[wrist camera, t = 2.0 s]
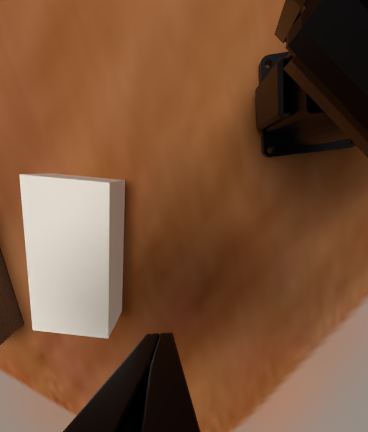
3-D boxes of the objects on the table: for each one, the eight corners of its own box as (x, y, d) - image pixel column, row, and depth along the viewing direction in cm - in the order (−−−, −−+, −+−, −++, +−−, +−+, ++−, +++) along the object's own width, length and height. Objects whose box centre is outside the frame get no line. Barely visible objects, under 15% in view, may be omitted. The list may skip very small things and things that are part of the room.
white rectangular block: (126, 179, 17) (109, 182, 14) (123, 309, 20) (108, 338, 16) (54, 173, 17) (19, 174, 14) (60, 302, 20) (32, 330, 16)
